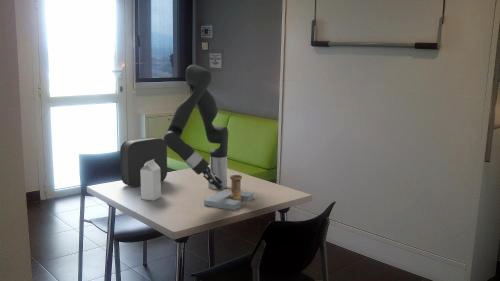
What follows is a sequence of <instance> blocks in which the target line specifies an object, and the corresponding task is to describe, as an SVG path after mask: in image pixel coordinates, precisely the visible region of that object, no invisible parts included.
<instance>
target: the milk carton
mask: <svg viewBox="0 0 500 281" xmlns="http://www.w3.org/2000/svg"><path fill="white" fill-rule="evenodd" d="M140 174H141V187H140V199H141V200H147V201H156V200H159V199H160V198H161V196H162V188H161V186H162V182H161V175H160V167H159V166H158V165H157V164H156V163H155V162H154V159H153V160H151V161H148V162H146V163H145V164H144V167H143V168H142V169H141V170H140Z"/></svg>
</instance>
